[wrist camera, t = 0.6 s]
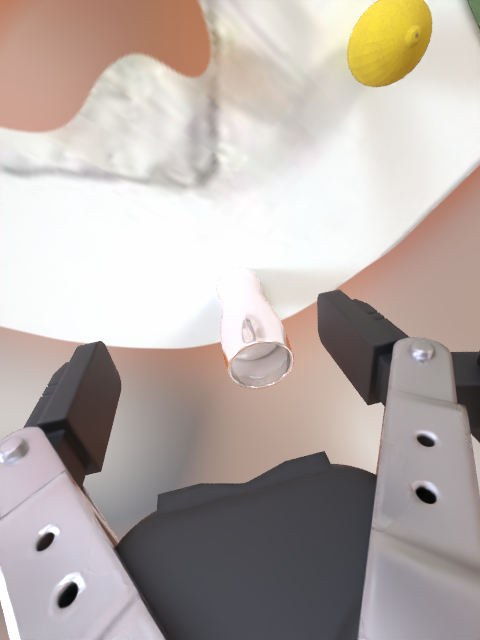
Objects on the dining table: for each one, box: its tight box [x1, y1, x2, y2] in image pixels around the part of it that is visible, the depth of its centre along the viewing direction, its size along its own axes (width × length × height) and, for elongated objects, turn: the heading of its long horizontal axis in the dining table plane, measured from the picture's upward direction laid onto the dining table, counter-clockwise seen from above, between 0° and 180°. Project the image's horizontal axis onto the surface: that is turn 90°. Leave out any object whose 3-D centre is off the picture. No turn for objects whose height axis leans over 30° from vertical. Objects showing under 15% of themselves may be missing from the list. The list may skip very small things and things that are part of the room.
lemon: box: [348, 0, 432, 87], centre depth 24 cm, size 6×6×8 cm
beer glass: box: [216, 268, 294, 389], centre depth 35 cm, size 7×7×15 cm
